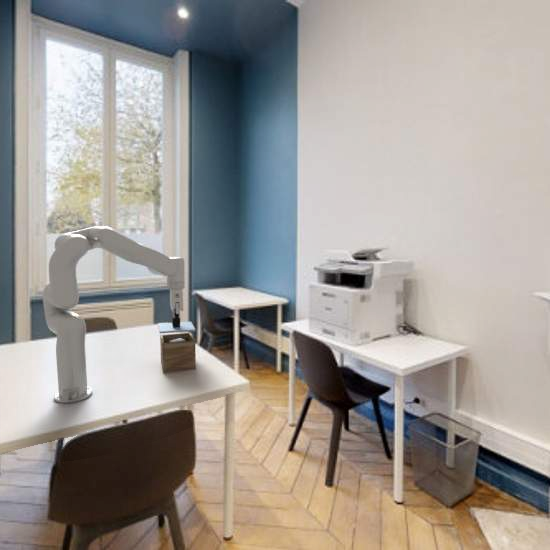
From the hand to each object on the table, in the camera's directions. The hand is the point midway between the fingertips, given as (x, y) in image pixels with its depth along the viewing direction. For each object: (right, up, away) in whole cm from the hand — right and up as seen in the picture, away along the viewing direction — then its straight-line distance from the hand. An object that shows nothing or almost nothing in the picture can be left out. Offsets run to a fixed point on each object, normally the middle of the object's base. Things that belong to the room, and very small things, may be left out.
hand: (176, 325), depth 175 cm
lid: (0, -1, 0) cm, 1 cm away
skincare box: (0, -19, +3) cm, 19 cm away
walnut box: (0, -19, +3) cm, 19 cm away
